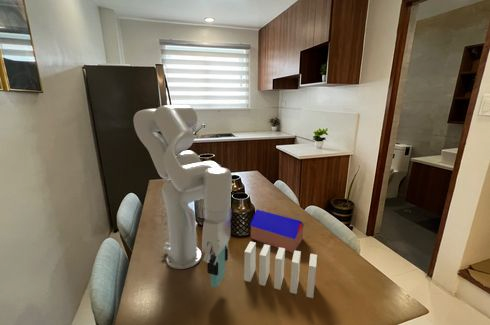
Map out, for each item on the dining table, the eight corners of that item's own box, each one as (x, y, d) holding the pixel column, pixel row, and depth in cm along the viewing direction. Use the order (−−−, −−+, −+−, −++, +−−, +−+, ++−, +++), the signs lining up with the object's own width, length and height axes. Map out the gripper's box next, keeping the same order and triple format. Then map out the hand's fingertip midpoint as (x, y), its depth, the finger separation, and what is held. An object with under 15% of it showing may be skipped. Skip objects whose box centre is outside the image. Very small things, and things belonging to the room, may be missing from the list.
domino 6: (306, 296, 71) (308, 265, 69) (308, 282, 77) (310, 253, 74) (313, 298, 71) (316, 267, 68) (314, 284, 76) (317, 254, 73)
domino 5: (289, 292, 73) (291, 261, 70) (292, 279, 78) (294, 250, 76) (296, 294, 72) (298, 263, 69) (298, 280, 78) (300, 251, 75)
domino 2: (244, 280, 78) (244, 251, 75) (250, 268, 83) (250, 241, 80) (250, 282, 77) (250, 252, 74) (255, 270, 82) (255, 242, 80)
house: (262, 227, 111) (262, 204, 109) (303, 239, 101) (305, 215, 99) (249, 239, 101) (249, 214, 99) (294, 254, 91) (295, 227, 89)
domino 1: (210, 286, 69) (210, 254, 66) (219, 272, 74) (219, 242, 72) (216, 288, 68) (216, 255, 65) (225, 274, 74) (225, 243, 71)
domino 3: (258, 284, 76) (259, 254, 73) (263, 272, 82) (264, 244, 79) (264, 285, 75) (265, 256, 73) (269, 273, 81) (270, 245, 78)
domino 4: (274, 288, 74) (275, 258, 72) (277, 275, 80) (279, 247, 77) (280, 289, 74) (281, 259, 71) (283, 276, 79) (285, 248, 77)
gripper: (218, 197, 74) (219, 246, 79) (189, 224, 59) (191, 283, 63) (241, 201, 72) (239, 251, 77) (216, 230, 56) (216, 291, 61)
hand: (218, 265), depth 70 cm, fingers closed on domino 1, 5 cm apart
